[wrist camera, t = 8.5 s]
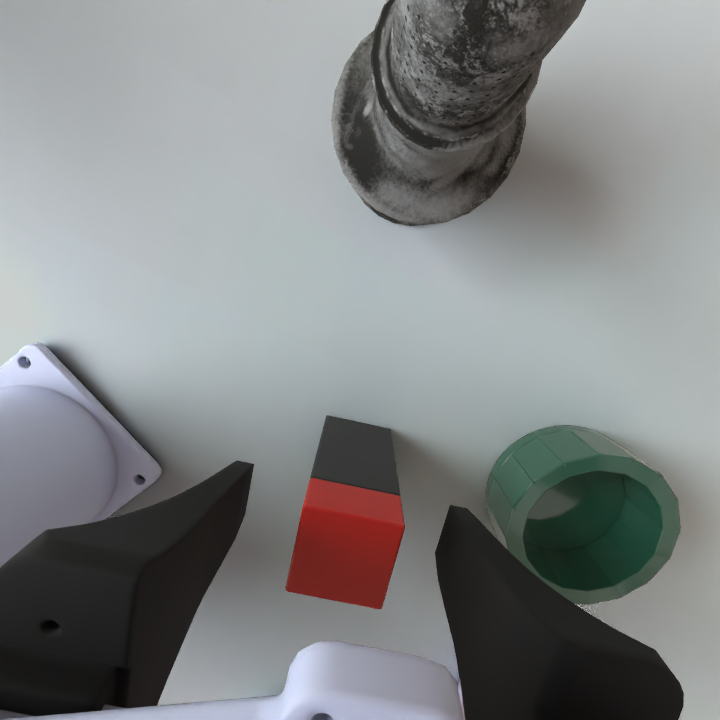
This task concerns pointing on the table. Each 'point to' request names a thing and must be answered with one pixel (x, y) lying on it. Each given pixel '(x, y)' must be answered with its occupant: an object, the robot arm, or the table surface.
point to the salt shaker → (441, 102)
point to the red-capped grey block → (349, 517)
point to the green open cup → (582, 513)
